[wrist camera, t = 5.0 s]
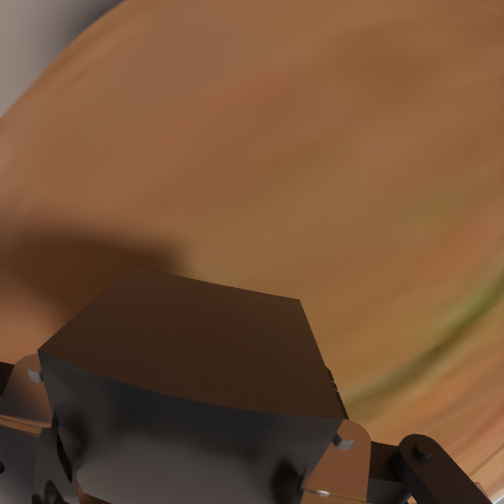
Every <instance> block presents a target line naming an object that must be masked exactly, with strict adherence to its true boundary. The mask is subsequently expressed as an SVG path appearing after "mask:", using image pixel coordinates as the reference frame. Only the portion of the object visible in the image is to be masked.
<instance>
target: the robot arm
mask: <svg viewBox="0 0 504 504" xmlns="http://www.w3.org/2000/svg"><path fill="white" fill-rule="evenodd" d="M325 367H326V366H325ZM326 370H327V372H328V375H329V378H330V380H331V383H332V386H333V388H334V391H335V394H336V396H337V399H338V402H339V405H340V407H341V410H342V413H343V415H344V420H343V421H342V423H341V425H340V427H339V429H338V431H337V432H336V434H335V436H334V438H333V439H332V441H331V443H330V444H329V446H328V448H327V450H326V451H325V453H324V454H323V456H322V458H321V459H320V461H319V463H318V464H317V465H307V467H306V469H305V470H304V472H303V474H302V475H301V477H300V479H299V482H298V485H297V488H296V491H295V493H294V496H293V498H292V501H291V503H290V504H409V503H408V502H407V500H408V499H409V498H410V497H411V496H413V498H414V499H415V500H416V502H417V503H418V504H492V503H491V501H490V499H489V497H488V496H487V494H486V492H485V491H484V489H483V487H482V486H481V484H480V483H478V484H475V483H474V482H473V481H472V480H471V479H470V478H469V477H468V476H467V475H466V474H465V473H464V472H463V470H462V469H461V468H460V467H459V466H458V465H457V464H456V463H455V462H454V461H453V459H452V458H451V457H450V456H449V455H448V454H447V453H446V452H445V451H444V450H443V448H442V447H441V446H440V445H439V444H438V443H437V442H436V441H434V440H433V439H431V438H430V437H427V436H425V435H420V434H412V435H408V436H406V437H405V438H403V440H402V441H401V442H400V444H399V445H398V446H393V445H387V444H382V443H377V442H373V441H371V438H370V436H369V434H368V432H367V431H366V430H365V429H364V428H363V427H362V426H360V425H359V424H357V423H355V422H353V421H350V420H349V418H348V416H347V413H346V410H345V408H344V405H343V402H342V400H341V397H340V395H339V392H337V390H338V389H337V387H336V384H335V383H334V379H333V377H332V374H331V371H330V370H329V369H328V368H327V367H326ZM58 426H59V420H58V417H57V414H56V410H55V407H53V406H51V405H50V404H49V400H48V396H47V392H46V388H45V384H44V380H43V376H42V371H41V366H40V361H39V356H38V354H31V355H27V356H25V357H23V358H21V359H20V360H18V361H17V362H16V364H15V365H13V364H8V363H4V362H0V504H80V502H79V498H78V494H77V471H76V469H75V466H74V464H73V462H72V461H69V460H68V457H67V455H66V452H65V450H64V447H63V444H62V441H61V439H60V436H59V433H58Z"/></svg>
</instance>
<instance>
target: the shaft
mask: <svg viewBox="0 0 504 504" xmlns="http://www.w3.org/2000/svg"><path fill="white" fill-rule="evenodd" d="M38 356H39V361H40V366H41V371H42V376H43V380H44V384H45V388H46V392H47V396H48V400H49V404H50V405H51V406H53V407H55V410H56V414H57V417H58V420H59V426H58V433H59V436H60V439H61V441H62V444H63V447H64V450H65V452H66V455H67V457H68V460H69V461H72V462H73V464H74V466H75V469H76V471H77V481H78V483H79V485H80V487H81V489H82V492H84V493H86V494H88V495H91V496H93V497H96V498H98V499H101V500H104V501H106V502H109V503H112V504H290V503H291V501H292V498H293V496H294V493H295V491H296V488H297V485H298V482H299V479H300V477H301V475H302V474H303V472H304V470H305V469H306V467H307V465H317V464H318V463H319V461H320V459H321V458H322V456H323V454H324V453H325V451H326V450H327V448H328V446H329V444H330V443H331V441H332V439H333V438H334V436H335V434H336V432H337V431H338V429H339V427H340V425H341V423H342V421H343V420H344V415H343V413H342V410H341V407H340V405H339V402H338V399H337V396H336V394H335V391H334V388H333V386H332V383H331V380H330V378H329V375H328V372H327V370H326V367H325V364H324V362H323V359H322V356H321V354H320V351H319V349H318V346H317V343H316V341H315V338H314V336H313V333H312V330H311V328H310V325H309V323H308V320H307V318H306V315H305V313H304V310H303V308H302V305H301V303H300V300H299V299H293V298H287V297H282V296H276V295H271V294H265V293H260V292H255V291H249V290H244V289H239V288H234V287H229V286H224V285H219V284H214V283H209V282H204V281H199V280H194V279H190V278H185V277H180V276H176V275H171V274H166V273H162V272H157V271H153V270H148V269H144V268H140V267H135V268H134V269H132V270H131V271H130V272H129V273H127V274H126V275H125V276H124V277H122V278H121V279H120V280H119V281H117V282H116V283H115V284H114V285H112V286H111V287H110V288H109V289H107V290H106V291H105V292H104V293H103V294H101V295H100V296H99V297H98V298H96V299H95V300H94V301H93V302H92V303H90V304H89V305H88V306H87V307H86V308H85V309H83V310H82V311H81V312H80V313H79V314H77V315H76V316H75V317H74V318H73V319H72V320H70V321H69V322H68V323H67V324H66V325H65V326H64V327H62V328H61V329H60V330H59V331H58V332H57V333H56V334H54V335H53V336H52V337H51V338H50V339H49V340H48V341H47V342H45V343H44V344H43V345H42V346H41V347H40V348H39V349H38Z"/></svg>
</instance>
